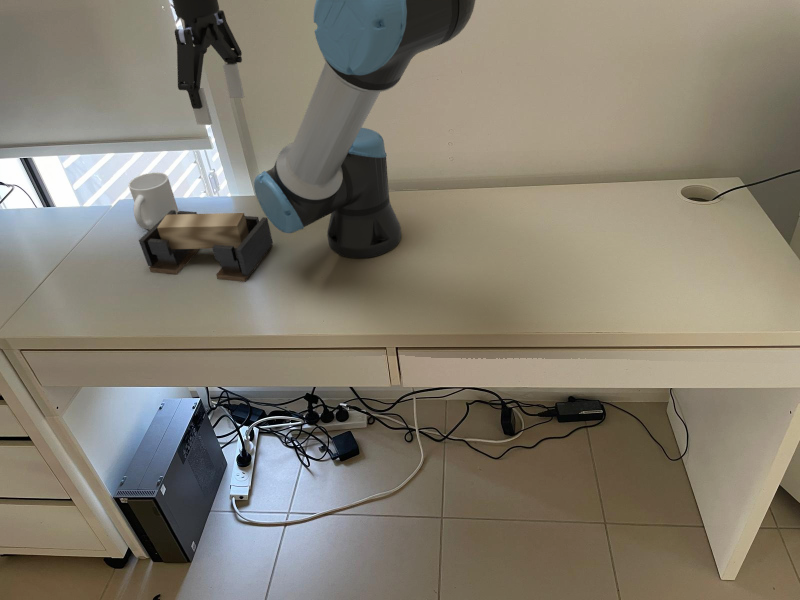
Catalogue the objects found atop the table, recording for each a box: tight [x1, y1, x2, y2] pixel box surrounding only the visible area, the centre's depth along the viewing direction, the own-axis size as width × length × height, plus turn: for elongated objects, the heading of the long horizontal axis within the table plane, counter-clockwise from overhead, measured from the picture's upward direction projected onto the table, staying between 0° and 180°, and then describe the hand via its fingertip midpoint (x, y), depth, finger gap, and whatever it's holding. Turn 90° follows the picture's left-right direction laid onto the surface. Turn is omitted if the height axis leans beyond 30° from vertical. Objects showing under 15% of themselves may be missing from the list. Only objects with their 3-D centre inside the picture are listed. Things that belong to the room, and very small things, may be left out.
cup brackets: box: [138, 210, 274, 283], centre depth 129 cm, size 22×13×7 cm, turn 75°
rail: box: [157, 212, 249, 250], centre depth 127 cm, size 16×5×5 cm, turn 86°
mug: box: [128, 172, 180, 230], centre depth 140 cm, size 12×8×10 cm
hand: (221, 110), depth 123 cm, fingers open, 13 cm apart
